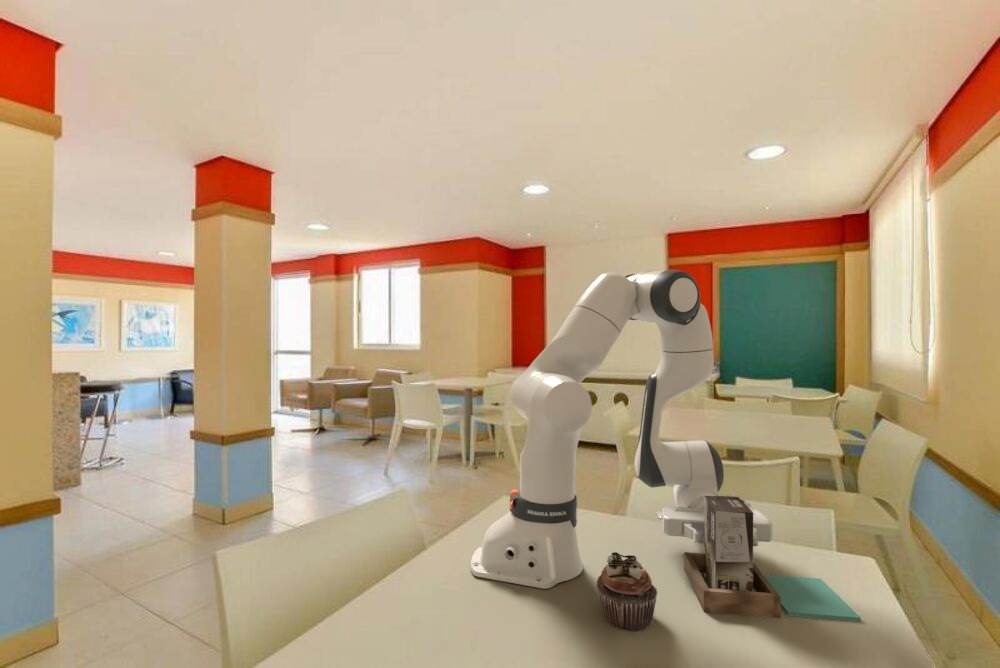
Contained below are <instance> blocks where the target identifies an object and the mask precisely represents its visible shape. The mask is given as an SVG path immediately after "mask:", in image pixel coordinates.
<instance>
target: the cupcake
mask: <svg viewBox="0 0 1000 668" xmlns="http://www.w3.org/2000/svg"><path fill="white" fill-rule="evenodd" d="M622 558H625V559H622ZM606 562H607V564H606V565H605V566H603V569H602V570H601V574H600V575H599V576H598V577H597V581H596V589H597V592H598V597H599V600H600V605H601V610H602V615H603V619H604V620H605V622H606V621H607V624H608V625H610V626H612V627H613V628H616V629H618V630H622V631H628V632H639V631H643V630H645V629H647V628H649V627H650V626H651V624H652V622H653V618H654V612H655V610H656V609H655V608H656V603H657V596H658V590H657V588H656V586H655V585H654V584H653V582H652V578H651V576H650V574H649V573H648V571H647V570H646V569H645V568H644V567H643V566H642V564H641V562H639V561H638V560H637V557H636V556H635V555H629V554H628V555H623V554H620V553H619V552H615V551H614V552H611V553H610V554H609V555H608V556H607V559H606Z"/></svg>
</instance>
